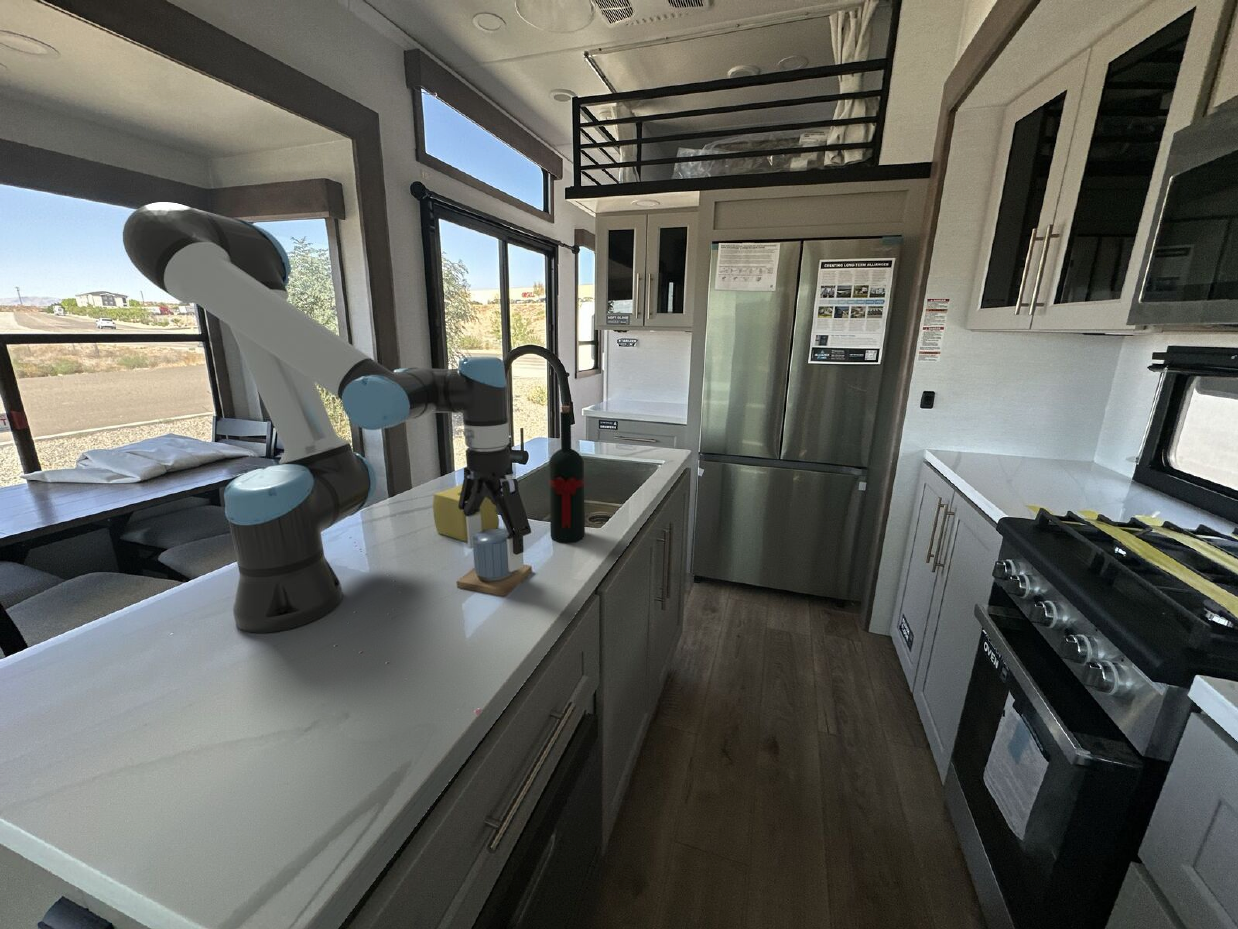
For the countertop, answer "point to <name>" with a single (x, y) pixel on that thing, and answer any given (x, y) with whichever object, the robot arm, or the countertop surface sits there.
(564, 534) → the wine bottle
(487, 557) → the cap
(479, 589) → the wooden square stand
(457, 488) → the cheese
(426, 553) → the countertop surface
